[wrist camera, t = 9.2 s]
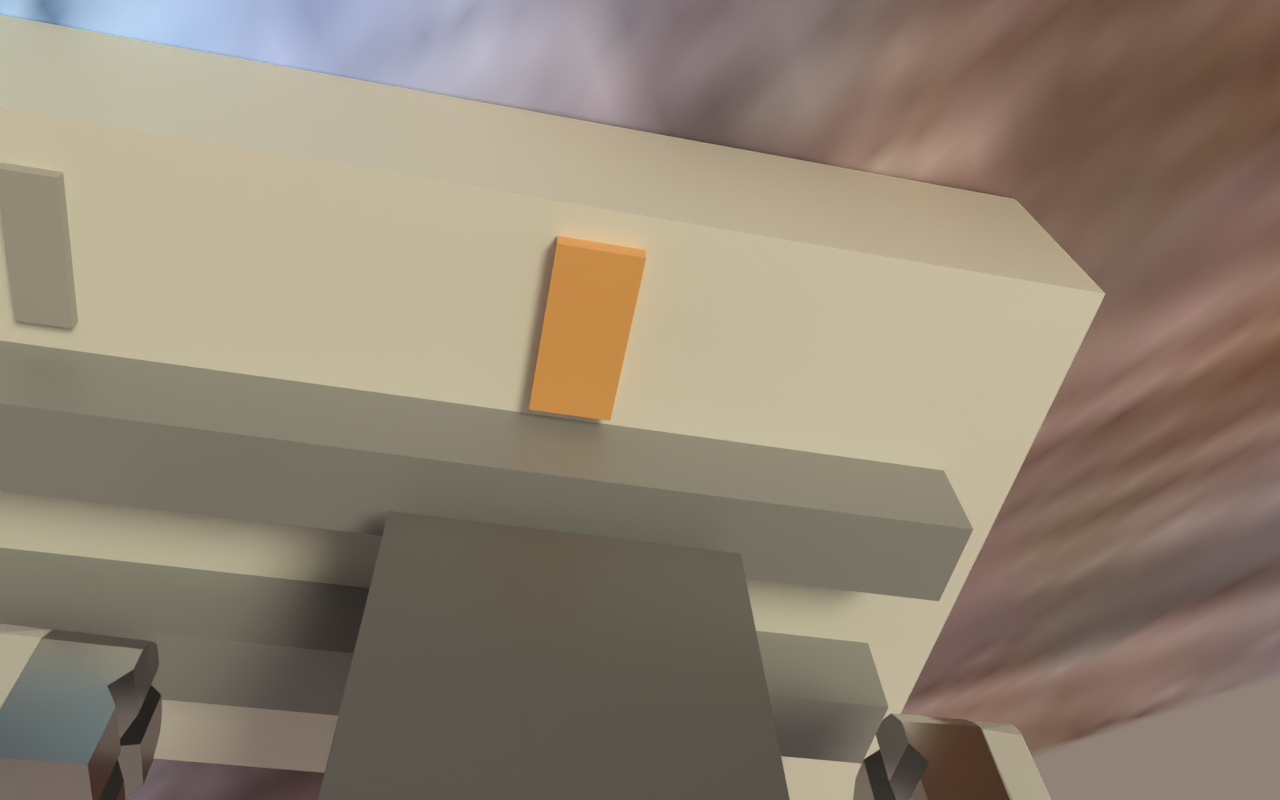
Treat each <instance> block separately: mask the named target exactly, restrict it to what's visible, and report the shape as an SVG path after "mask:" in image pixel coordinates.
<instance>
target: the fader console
mask: <svg viewBox="0 0 1280 800" xmlns="http://www.w3.org/2000/svg"><path fill="white" fill-rule="evenodd" d="M1104 296H1105V293H1104V292H1103V291H1102V290H1101V289H1100V288H1099V287H1098V286H1097V284H1096V283H1095V282H1094V281H1093V280H1092V279H1091V278H1090V277H1089V276H1088V275H1087V274H1086V273H1085V272H1084V271H1083V270H1082V269H1081V268H1080V267H1079V266H1078V264H1077V263H1076V262H1075V261H1074V260H1073V259H1072V258H1071V257H1070V256H1069V255H1068V254H1067V253H1066V252H1065V251H1064V250H1063V249H1062V248H1061V247H1060V246H1059V245H1058V243H1057V242H1056V241H1055V240H1054V239H1053V238H1052V237H1051V236H1050V235H1049V234H1048V233H1047V232H1046V231H1045V230H1044V229H1043V228H1042V227H1041V226H1040V225H1039V223H1038V222H1037V221H1036V220H1035V219H1034V218H1033V217H1032V216H1031V215H1030V214H1029V213H1028V212H1027V211H1026V210H1025V209H1024V208H1023V207H1022V206H1021V205H1020V203H1019V202H1018V201H1017V200H1016V199H1012V198H1007V197H1001V196H996V195H990V194H985V193H979V192H974V191H968V190H963V189H957V188H952V187H946V186H941V185H935V184H930V183H924V182H919V181H913V180H908V179H902V178H897V177H891V176H886V175H880V174H875V173H869V172H864V171H858V170H853V169H847V168H842V167H836V166H831V165H825V164H820V163H814V162H809V161H803V160H798V159H792V158H786V157H781V156H775V155H770V154H764V153H759V152H753V151H748V150H742V149H737V148H731V147H726V146H720V145H715V144H709V143H704V142H698V141H693V140H687V139H682V138H676V137H671V136H665V135H660V134H654V133H649V132H643V131H638V130H632V129H627V128H621V127H616V126H610V125H605V124H599V123H594V122H588V121H583V120H577V119H572V118H566V117H561V116H555V115H550V114H544V113H539V112H533V111H527V110H522V109H516V108H511V107H505V106H500V105H494V104H489V103H483V102H478V101H472V100H467V99H461V98H456V97H450V96H445V95H439V94H434V93H428V92H423V91H417V90H412V89H406V88H401V87H395V86H390V85H384V84H379V83H373V82H368V81H362V80H357V79H351V78H346V77H340V76H335V75H329V74H324V73H318V72H313V71H307V70H302V69H296V68H291V67H285V66H280V65H274V64H269V63H263V62H257V61H252V60H246V59H241V58H235V57H230V56H224V55H219V54H213V53H208V52H202V51H197V50H191V49H186V48H180V47H175V46H169V45H164V44H158V43H153V42H147V41H142V40H136V39H131V38H125V37H120V36H114V35H109V34H103V33H98V32H92V31H87V30H81V29H76V28H70V27H65V26H59V25H54V24H48V23H43V22H37V21H32V20H26V19H21V18H15V17H10V16H4V15H0V624H10V625H18V626H27V627H35V628H44V629H52V630H53V629H57V630H65V631H73V632H81V633H89V634H98V635H106V636H114V637H122V638H130V639H138V640H146V641H152V642H154V643H157V648H158V657H159V668H158V670H157V672H156V675H155V677H154V679H153V681H152V684H151V685H152V686H153V687H154V688H155V689H156V690H157V691H158V692H159V693H160V694H161V697H162V718H161V729H160V735H159V738H158V742H157V746H156V750H155V754H154V759H166V760H178V761H190V762H202V763H214V764H226V765H238V766H250V767H262V768H274V769H286V770H298V771H310V772H322V773H324V772H325V768H326V764H327V760H328V756H329V752H330V748H331V744H332V740H333V736H334V731H335V727H336V723H337V719H338V715H339V711H340V707H341V703H342V699H343V695H344V691H345V687H346V683H347V678H348V674H349V670H350V666H351V662H352V658H353V654H354V650H355V646H356V642H357V638H358V634H359V630H360V626H361V621H362V617H363V613H364V609H365V605H366V601H367V597H368V593H369V589H370V585H371V581H372V577H373V573H374V568H375V564H376V560H377V556H378V552H379V548H380V544H381V540H382V536H383V532H384V528H385V524H386V520H387V515H388V511H394V512H402V513H410V514H419V515H427V516H435V517H443V518H452V519H460V520H468V521H476V522H484V523H493V524H501V525H509V526H517V527H526V528H534V529H542V530H550V531H559V532H567V533H575V534H583V535H592V536H600V537H608V538H616V539H625V540H633V541H641V542H649V543H658V544H666V545H674V546H682V547H691V548H699V549H707V550H715V551H724V552H732V553H740V554H741V558H742V563H743V568H744V573H745V578H746V583H747V588H748V593H749V598H750V603H751V608H752V613H753V618H754V623H755V628H756V633H757V638H758V643H759V648H760V653H761V658H762V663H763V668H764V673H765V678H766V683H767V688H768V693H769V698H770V703H771V708H772V713H773V718H774V723H775V728H776V733H777V738H778V743H779V748H780V753H781V758H782V763H783V768H784V773H785V778H786V783H787V788H788V793H789V798H790V800H853V795H854V787H855V779H856V776H857V774H858V771H859V769H860V767H861V764H862V762H863V759H865V758H867V757H868V756H870V755H871V754H873V753H875V752H876V751H878V750H879V749H880V748H879V745H878V741H877V738H876V732H877V730H878V728H879V726H880V724H881V722H882V720H883V719H884V718H886V717H887V716H888V715H890V714H891V713H893V714H901V712H902V710H903V707H904V705H905V703H906V701H907V699H908V697H909V695H910V693H911V691H912V689H913V687H914V685H915V683H916V681H917V679H918V677H919V675H920V673H921V671H922V669H923V666H924V664H925V662H926V660H927V658H928V656H929V654H930V652H931V650H932V648H933V646H934V644H935V642H936V640H937V638H938V636H939V634H940V632H941V630H942V628H943V625H944V623H945V621H946V619H947V617H948V615H949V613H950V611H951V609H952V607H953V605H954V603H955V601H956V599H957V597H958V595H959V593H960V591H961V589H962V587H963V585H964V582H965V580H966V578H967V576H968V574H969V572H970V570H971V568H972V566H973V564H974V562H975V560H976V558H977V556H978V554H979V552H980V550H981V548H982V546H983V544H984V541H985V539H986V537H987V535H988V533H989V531H990V529H991V527H992V525H993V523H994V521H995V519H996V517H997V515H998V513H999V511H1000V509H1001V507H1002V505H1003V503H1004V500H1005V498H1006V496H1007V494H1008V492H1009V490H1010V488H1011V486H1012V484H1013V482H1014V480H1015V478H1016V476H1017V474H1018V472H1019V470H1020V468H1021V466H1022V464H1023V462H1024V459H1025V457H1026V455H1027V453H1028V451H1029V449H1030V447H1031V445H1032V443H1033V441H1034V439H1035V437H1036V435H1037V433H1038V431H1039V429H1040V427H1041V425H1042V423H1043V421H1044V419H1045V416H1046V414H1047V412H1048V410H1049V408H1050V406H1051V404H1052V402H1053V400H1054V398H1055V396H1056V394H1057V392H1058V390H1059V388H1060V386H1061V384H1062V382H1063V380H1064V378H1065V375H1066V373H1067V371H1068V369H1069V367H1070V365H1071V363H1072V361H1073V359H1074V357H1075V355H1076V353H1077V351H1078V349H1079V347H1080V345H1081V343H1082V341H1083V339H1084V337H1085V334H1086V332H1087V330H1088V328H1089V326H1090V324H1091V322H1092V320H1093V318H1094V316H1095V314H1096V312H1097V310H1098V308H1099V306H1100V304H1101V302H1102V300H1103V298H1104Z"/></svg>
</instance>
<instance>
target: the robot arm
mask: <svg viewBox="0 0 1280 800" xmlns="http://www.w3.org/2000/svg"><path fill="white" fill-rule="evenodd" d="M158 668H159V657H158V648H157V643H154V642H152V641H146V640H138V639H130V638H122V637H114V636H106V635H98V634H89V633H81V632H73V631H65V630H57V629H53V630H52V629H44V628H35V627H27V626H18V625H10V624H0V800H126V797H127V796H128V795H130V794H131V793H132V792H134V791H135V790H137V789H138V788H139V787H141V786H142V785H143V784H144V782H145V779H146V776H147V774H148V771H149V769H150V766H151V764H152V761H153V758H154V754H155V750H156V746H157V742H158V738H159V735H160V729H161V718H162V697H161V694H160V693H159V692H158V691H157V690H156V689H155V688H154V687H153V686H152V685H151V684H152V681H153V679H154V677H155V675H156V672H157V670H158ZM876 738H877V741H878V745H879V748H880V749H879V750H878V751H876V752H875V753H873V754H871V755H870V756H868V757H867V758H865V759H863V762H862V764H861V767H860V769H859V771H858V774H857V776H856V779H855V787H854V795H853V800H1051V798H1050V796H1049V793H1048V791H1047V789H1046V787H1045V785H1044V783H1043V780H1042V778H1041V776H1040V774H1039V771H1038V769H1037V767H1036V765H1035V763H1034V760H1033V758H1032V756H1031V754H1030V752H1029V749H1028V747H1027V745H1026V743H1025V741H1024V738H1023V736H1022V734H1021V732H1020V731H1019V730H1018V729H1017V728H1016V727H1015V726H1014V725H1011V724H1000V723H990V722H979V721H968V720H962V719H951V718H939V717H928V716H916V715H905V714H893V713H891V714H890V715H888V716H887V717H886V718H884V719H883V720H882V722H881V724H880V726H879V728H878V730H877V732H876Z"/></svg>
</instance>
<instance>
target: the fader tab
mask: <svg viewBox="0 0 1280 800" xmlns="http://www.w3.org/2000/svg"><path fill="white" fill-rule="evenodd" d="M318 800H790V798H789V793H788V788H787V783H786V778H785V773H784V768H783V763H782V758H781V753H780V748H779V743H778V738H777V733H776V728H775V723H774V718H773V713H772V708H771V703H770V698H769V693H768V688H767V683H766V678H765V673H764V668H763V663H762V658H761V653H760V648H759V643H758V638H757V633H756V628H755V623H754V618H753V613H752V608H751V603H750V598H749V593H748V588H747V583H746V578H745V573H744V568H743V563H742V558H741V554H740V553H732V552H724V551H715V550H707V549H699V548H691V547H682V546H674V545H666V544H658V543H649V542H641V541H633V540H625V539H616V538H608V537H600V536H592V535H583V534H575V533H567V532H559V531H550V530H542V529H534V528H526V527H517V526H509V525H501V524H493V523H484V522H476V521H468V520H460V519H452V518H443V517H435V516H427V515H419V514H410V513H402V512H394V511H388V515H387V520H386V524H385V528H384V532H383V536H382V540H381V544H380V548H379V552H378V556H377V560H376V564H375V568H374V573H373V577H372V581H371V585H370V589H369V593H368V597H367V601H366V605H365V609H364V613H363V617H362V621H361V626H360V630H359V634H358V638H357V642H356V646H355V650H354V654H353V658H352V662H351V666H350V670H349V674H348V678H347V683H346V687H345V691H344V695H343V699H342V703H341V707H340V711H339V715H338V719H337V723H336V727H335V731H334V736H333V740H332V744H331V748H330V752H329V756H328V760H327V764H326V768H325V772H324V776H323V780H322V784H321V788H320V793H319V797H318Z"/></svg>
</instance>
